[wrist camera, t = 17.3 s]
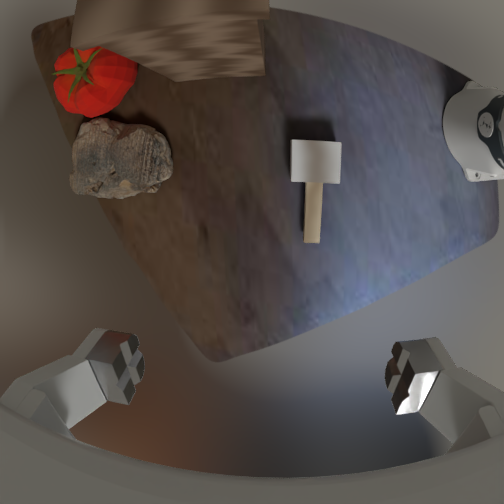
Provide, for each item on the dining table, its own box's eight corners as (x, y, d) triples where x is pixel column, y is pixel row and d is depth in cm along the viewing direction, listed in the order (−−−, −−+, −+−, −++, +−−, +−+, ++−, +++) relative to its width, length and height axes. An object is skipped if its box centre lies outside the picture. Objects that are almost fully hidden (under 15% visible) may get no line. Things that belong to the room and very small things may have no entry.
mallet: (335, 142, 42) (341, 142, 38) (330, 237, 48) (335, 246, 44) (290, 139, 43) (291, 139, 39) (288, 236, 48) (289, 244, 44)
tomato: (162, 65, 39) (130, 47, 28) (112, 133, 43) (71, 135, 33) (113, 32, 36) (77, 14, 25) (69, 96, 41) (27, 93, 30)
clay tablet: (186, 125, 43) (84, 116, 42) (177, 125, 38) (68, 116, 38) (172, 208, 48) (77, 190, 48) (163, 217, 44) (62, 196, 43)
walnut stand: (271, 39, 36) (266, -56, 12) (272, 78, 39) (269, 9, 15) (170, 47, 38) (80, -16, 13) (170, 85, 40) (70, 47, 16)
